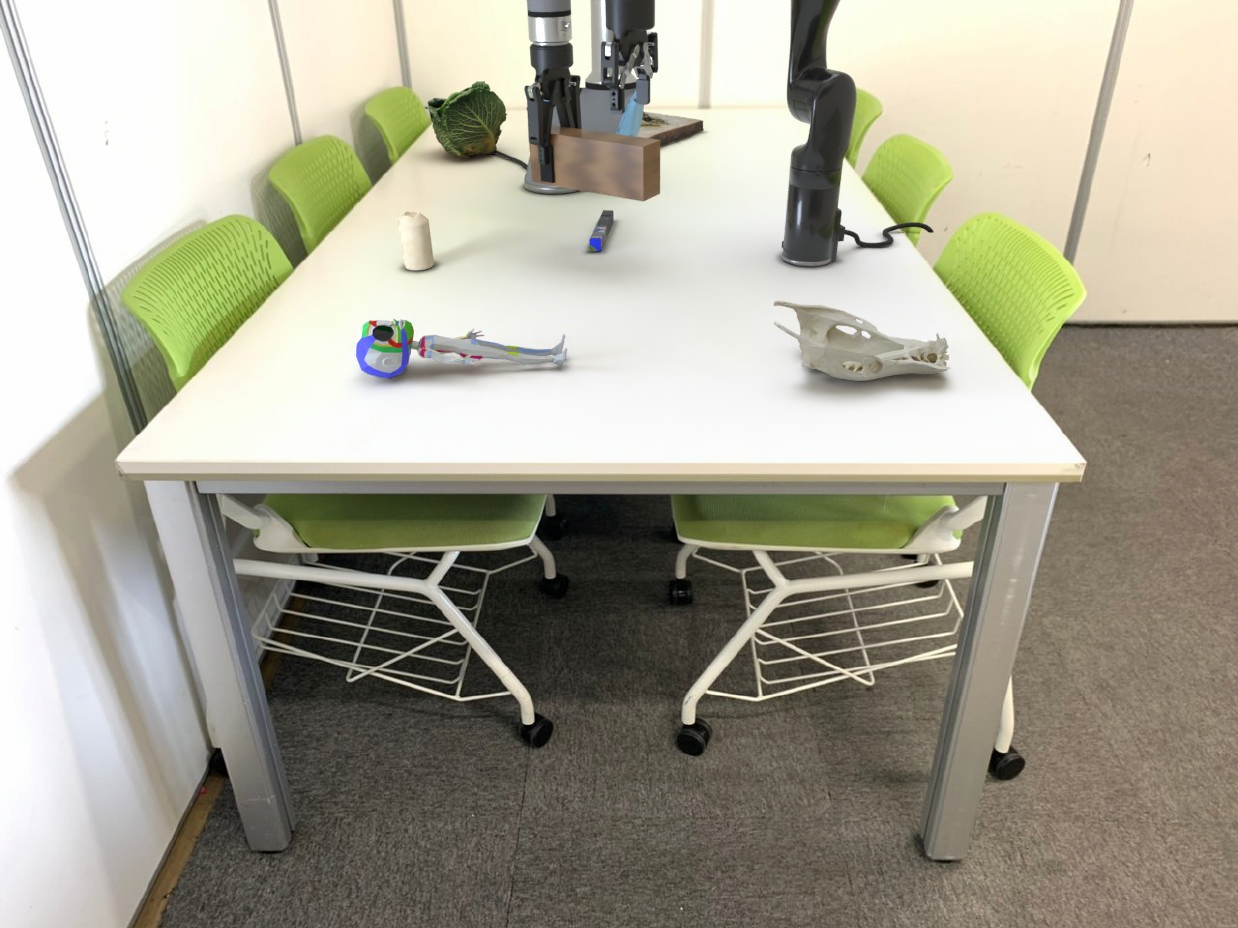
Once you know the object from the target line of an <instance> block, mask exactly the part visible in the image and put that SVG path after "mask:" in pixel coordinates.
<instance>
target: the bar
mask: <svg viewBox="0 0 1238 928" xmlns="http://www.w3.org/2000/svg"><path fill="white" fill-rule="evenodd" d="M543 139H544V138H543ZM528 145H529V146H528V147H529V157H530V161H531V175H532V182H535V183H541V184H547V185H552V186H558V187H564V188H569V189H575V190H580V191H582V192H588V193H591V194H592V193H593V194H599V195H605V196H609V197H615V198H621V199H626V200H632V201H638V202H643V203H644V202H646V201H648V200H650V199H652V198H654V197H656V196H659V195H660V194H661V147H660V140H657V139H649V138H642V137H635V136H627V135H620V134H613V133H605V132H598V131H591V130H583V129H576V128H569V127H561V126H554V125H552V127H551V137H550V146H553V158H554V176H555V182H554V183H549V182H543V181H541V174H540V164H539V160H538V159H539V158H538V147H537V145H533V144H530V143H529V142H528Z"/></svg>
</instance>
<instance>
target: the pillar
mask: <svg viewBox="0 0 1238 928" xmlns="http://www.w3.org/2000/svg"><path fill="white" fill-rule="evenodd" d="M614 216H615V215H614V210H613V209H612V210H611V209H602V212H601V214H600V216H599V219H598V221H597V222H596V225H595V227H594V229H593V231H592V234H591V236H590V237H589V241H588V243H589V244H588V245H589V246H588V247H589V248H588V250H589V252H601V251H602V249H603V247H604V245H605V242H606V239H607V237H608V235H609V232H610V231H611V228H612V226H613V223H614Z"/></svg>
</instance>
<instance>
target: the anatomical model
mask: <svg viewBox="0 0 1238 928" xmlns="http://www.w3.org/2000/svg"><path fill="white" fill-rule="evenodd" d="M773 307H783V308H784V307H785V308H788V309H792V310H793V311H794V312H795V313H796V319H797V321H798V324H799V331H800V332H799V333H800V334H798V333H796V332H795V331H792V330H791V329H789V328H788V327H786V326H784V325H782V324H781V323H779V322H777V321H774V322H773V325H774V326H775V327H777V328H778V329H780V330H782V331H783V332H785V333H786V334H787V335H789V336H791V337H793V338H794V339H796V340H797V342H798V344H799V345H798V347H799V350H800V354H801V360H802V361H801V367H803V368H808V369H813V370H817V371H821V372H823V373H825V374H827V375H829V376H830V377H833V378H835V379H841V380H847V381H854V382H857V381H858V382H861V381H864V382H865V381H872V380H876V379H882V378H886V377H890V376H891V377H892V376H898V375H909V374H915V375H916V374H917V375H919V374H920V375H929V374H931V375H932V374H933V375H934V374H939V373H943V372H947V371H949V370H951V369H952V367H950V366H947V361H950V355H949V354H947V353H948V351H947V349H948V348H949V347H950V346H949V345H948V341H947V339H946V337H940V334H939V333H936V334H935V336H936V340H929V339H928V341H922V340H919V339H914V338H905V337H904V338H903V337H896V336H889V335H887V334H885V333H883V332H881V331H879V330H878V328H877V326H875V325H874V324H873V323H871V322H870V321H868V320H866V319H863V318H861V317H860V316H857V315H854V314H852V313H850V312H847V311H845V310H841V309H838V308H835V307H830V306H827V305H822V304H799V303H795V302H788V301H783V300H775V301H774V302H773ZM859 321H860V322H861V323H860V322H859ZM839 326H840V327H841V326H842V327H849V328H852V329H854V330H856V331H855V332H854V333H853V334H852V333H847V332H845V331H844V330H842V329H839V328H838V327H839ZM862 332H866V333H867V334H868V335H869V337H867V336H864V335H863V333H862Z"/></svg>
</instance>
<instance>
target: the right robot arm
mask: <svg viewBox="0 0 1238 928" xmlns="http://www.w3.org/2000/svg"><path fill="white" fill-rule="evenodd" d="M840 2H841V0H790V39H789V41H790V42H789V55H788V57H789V58H788V68H787V78H786V79H787V80H786V81H787V82H786V104H787V108H788V111H789V113H790V114H791V116H792V117H793V119H796V121H799V122H800V123H804V124H807V125H809V131H808V137H807V141H806V142H805V143H804V144H799V145H797V146H794V147H793V149H792V150H791V153H790V161H789V175H788V185H787V186H788V187H787V189H788V190H787V198H786V209H785V210H786V211H785V221H784V231H783V241H781V249H782V251H781V259H782V260H783V261H784V262H786V263H788V264H790V265H793V266H794V265H795V266H799V267H820V266H821V267H822V266H824V265H828V264H830V263H832V262H836V261H837V257H838V256H837V255H838V247H839V242H844V241H845V236H849V237H851V238H853V239H854V242H855V244H856V245H857V246H859V247H861V248H870V249H871V248H873V249H875V248H882V247H883V248H884V247H887V246H891V245H892V244H893V243H894V237H893V236H892V235H891V232H894V231H897V230H901V229H906V228H919V229H922V230H924V231H926V232H927V233H929V234H932V233H934V229H933V228H932V227H931V226H929V225H928V224H926V223H922V222H916V221H913V222H911V221H909V222H903V223H899V224H895V225H892V226H888V227H886V228H884V229H883V230H882V236H883V237H884V238H885V239H886V240H884V241H879V242H867V241H862V240H861V238H860V236H859V234H858V233H856V232H855V231H852V230H849V229H846V227H845V225H842V224H841V223H842V212H843V211H842V209H840V208H839V202H840V201H839V200H840V193H841V182H842V174H843V166H844V159H845V157H846V155H847V153H848V151H849V149H850V148H849V147H850V145H851V140H852V134H853V128H854V121H855V115H856V110H857V100H858V94H857V93H858V92H857V86H856V83H855V81H854V78H853V77H852V76H851V75H849V73H846V72H844V71H841V70H836V69H830V68H828V62H827V48H828V47H827V45H828V34H829V31H830V29H829V28H830V26H831V23H832V20H833V18H834V15H835V13H836V11H837V9H838V7H839V4H840ZM605 25H606V28H607V29H609V30H612V31H613V41H612V42H606V41H603V42H602V43H601V84H602V85H606V86H607V87H609V89H610V112H611V113H612V114H623V113H624V112H625V90H624V85H625V82H626V78H627V76H628V75H630V74H631V73H632V71H633V70H634V74H635V76H636V102H637V103H638V104H642V105H644V106H648V105H649V104H650V103H651V80H652V79H653V77H654V74H657V73H658V72H659V38H658V37H659V36H658V32H656V31H655V32H654V31H650V30H653V29H654V28H655V26H656V0H605ZM610 58H611V59H610ZM607 68H608V69H609V70H610V73H609V77H608V76H607ZM619 74H620V78H619Z"/></svg>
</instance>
